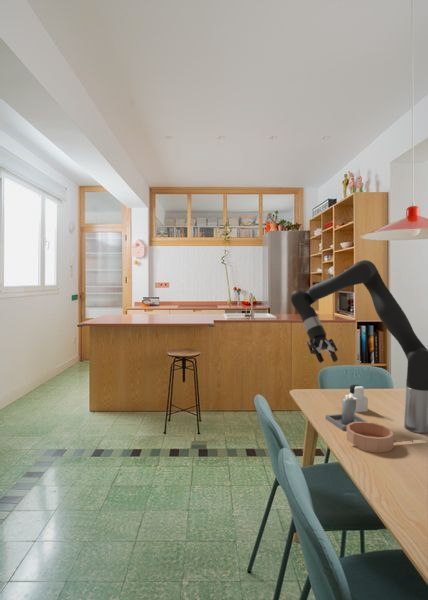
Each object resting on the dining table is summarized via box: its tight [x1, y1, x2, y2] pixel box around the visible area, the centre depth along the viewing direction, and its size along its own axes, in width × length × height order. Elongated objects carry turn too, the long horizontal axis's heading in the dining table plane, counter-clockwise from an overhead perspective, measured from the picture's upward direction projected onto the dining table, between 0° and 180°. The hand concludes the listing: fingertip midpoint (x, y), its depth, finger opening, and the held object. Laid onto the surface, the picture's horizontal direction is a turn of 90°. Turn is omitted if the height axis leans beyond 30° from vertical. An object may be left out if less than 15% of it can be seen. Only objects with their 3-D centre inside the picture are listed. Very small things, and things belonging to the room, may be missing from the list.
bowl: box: [345, 421, 395, 454], centre depth 149 cm, size 16×16×5 cm
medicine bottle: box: [344, 384, 369, 414], centre depth 183 cm, size 7×7×12 cm
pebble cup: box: [341, 396, 356, 425], centre depth 165 cm, size 5×5×11 cm
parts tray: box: [325, 413, 368, 431], centre depth 166 cm, size 13×13×2 cm
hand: (329, 361), depth 173 cm, fingers open, 8 cm apart
